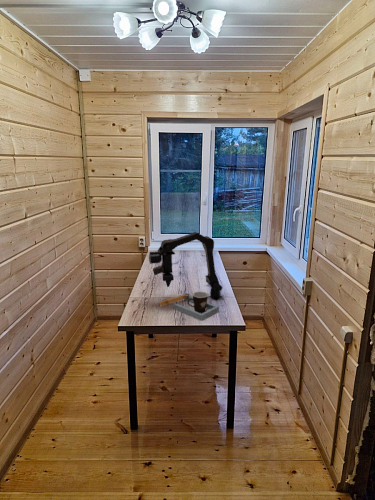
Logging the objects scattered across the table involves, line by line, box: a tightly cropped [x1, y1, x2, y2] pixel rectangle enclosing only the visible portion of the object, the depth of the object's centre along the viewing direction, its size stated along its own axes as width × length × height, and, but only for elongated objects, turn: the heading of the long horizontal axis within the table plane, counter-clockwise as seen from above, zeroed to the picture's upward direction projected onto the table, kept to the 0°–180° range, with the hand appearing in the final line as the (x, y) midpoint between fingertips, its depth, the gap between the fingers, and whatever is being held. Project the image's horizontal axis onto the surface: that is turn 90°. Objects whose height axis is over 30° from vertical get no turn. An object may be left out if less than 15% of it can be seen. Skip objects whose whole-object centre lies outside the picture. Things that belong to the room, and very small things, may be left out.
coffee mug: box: [187, 291, 209, 314], centre depth 183 cm, size 12×9×10 cm
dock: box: [172, 295, 220, 321], centre depth 186 cm, size 16×26×3 cm, turn 47°
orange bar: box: [159, 293, 190, 307], centre depth 193 cm, size 20×3×2 cm, turn 125°
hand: (167, 286), depth 191 cm, fingers closed
